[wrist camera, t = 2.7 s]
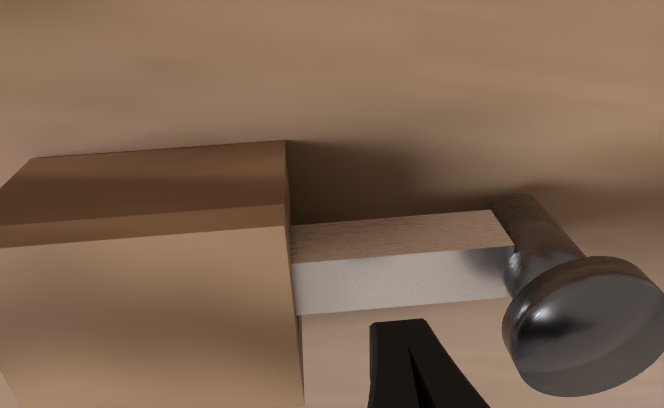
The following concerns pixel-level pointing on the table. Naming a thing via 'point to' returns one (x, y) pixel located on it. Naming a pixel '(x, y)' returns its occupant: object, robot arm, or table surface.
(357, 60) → the table surface
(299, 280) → the handle rod
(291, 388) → the wooden mallet head
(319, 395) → the table surface
